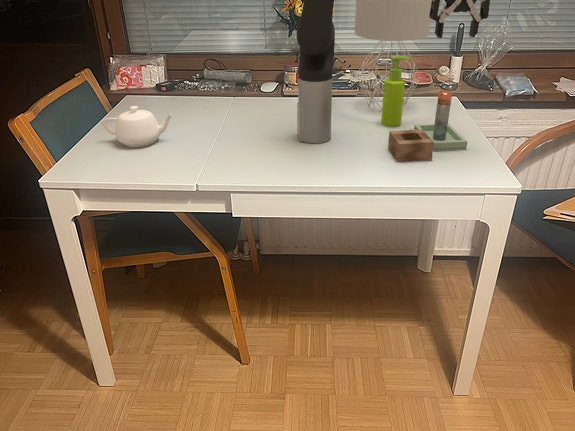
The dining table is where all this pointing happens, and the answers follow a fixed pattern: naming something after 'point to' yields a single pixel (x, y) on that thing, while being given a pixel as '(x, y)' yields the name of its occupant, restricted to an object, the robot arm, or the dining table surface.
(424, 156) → the hitch block
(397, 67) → the soap dispenser
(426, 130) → the tray
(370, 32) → the table lamp
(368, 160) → the dining table surface
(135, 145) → the teapot
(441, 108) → the grey and copper cylinder
